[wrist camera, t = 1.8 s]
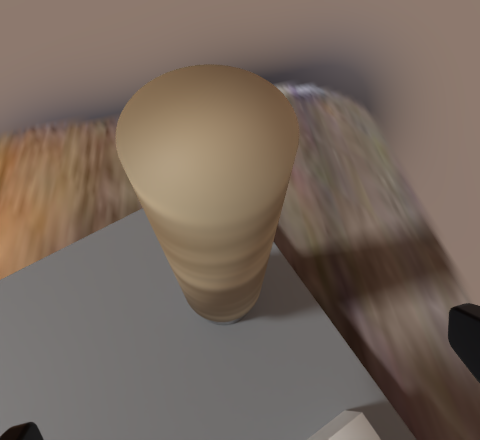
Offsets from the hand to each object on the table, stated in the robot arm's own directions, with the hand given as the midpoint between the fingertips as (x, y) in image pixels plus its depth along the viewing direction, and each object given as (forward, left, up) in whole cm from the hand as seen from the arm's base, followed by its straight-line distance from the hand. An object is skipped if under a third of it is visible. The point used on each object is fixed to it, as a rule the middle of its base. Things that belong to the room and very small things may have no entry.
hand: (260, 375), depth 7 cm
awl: (+4, -1, -10) cm, 11 cm away
